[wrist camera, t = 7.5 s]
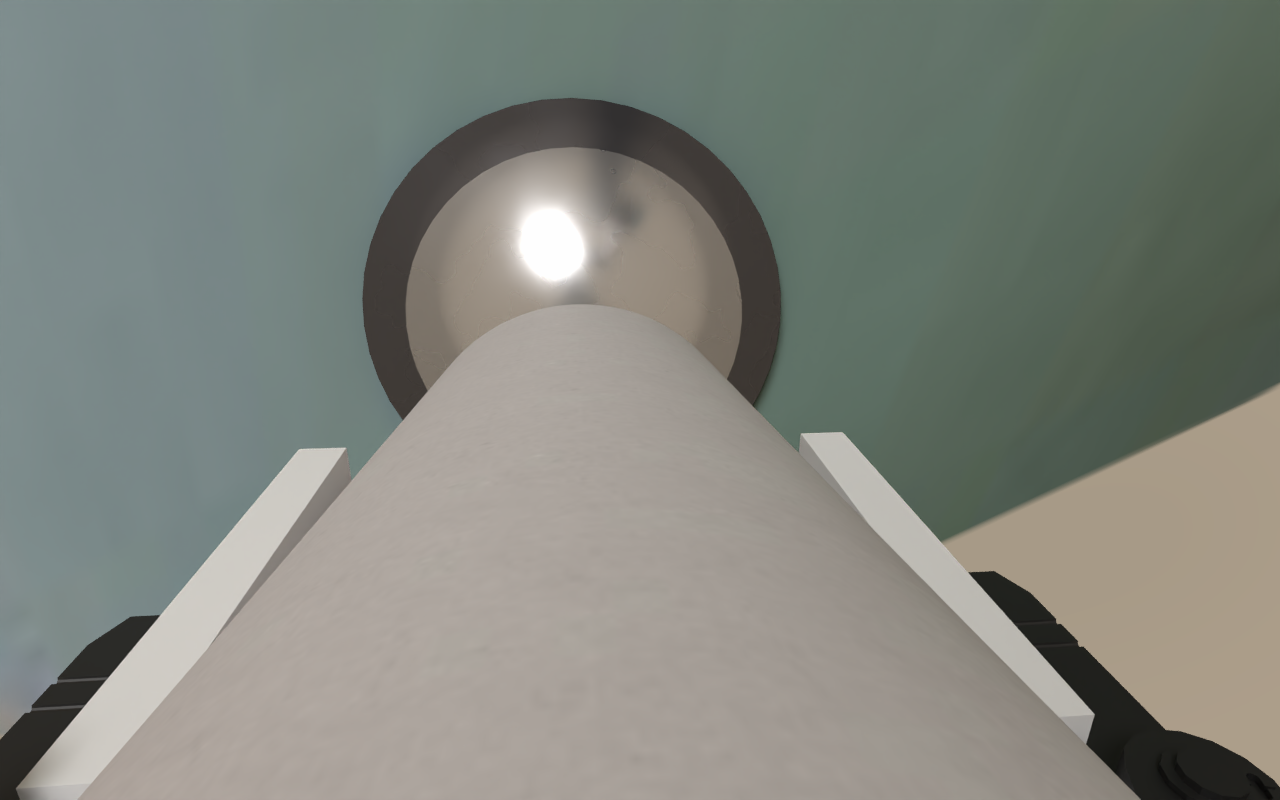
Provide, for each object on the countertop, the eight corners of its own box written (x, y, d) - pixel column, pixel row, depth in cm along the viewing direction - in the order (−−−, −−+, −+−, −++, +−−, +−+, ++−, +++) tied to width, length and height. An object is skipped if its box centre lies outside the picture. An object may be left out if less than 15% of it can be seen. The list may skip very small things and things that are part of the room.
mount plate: (339, 96, 22) (330, 95, 21) (791, 100, 23) (799, 100, 22) (392, 504, 27) (387, 516, 26) (762, 490, 28) (767, 501, 27)
